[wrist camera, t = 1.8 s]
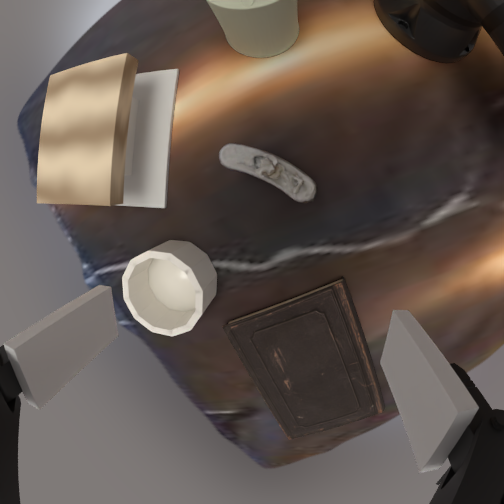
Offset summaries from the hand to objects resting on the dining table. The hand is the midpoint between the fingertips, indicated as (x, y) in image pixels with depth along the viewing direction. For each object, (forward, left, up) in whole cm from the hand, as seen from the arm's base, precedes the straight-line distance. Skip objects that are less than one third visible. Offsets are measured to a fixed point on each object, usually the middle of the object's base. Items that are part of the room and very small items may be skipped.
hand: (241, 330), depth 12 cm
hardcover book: (+18, +7, -23) cm, 30 cm away
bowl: (+7, -12, -22) cm, 26 cm away
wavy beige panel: (-11, -22, -15) cm, 29 cm away
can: (-26, -4, -23) cm, 35 cm away
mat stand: (-11, -22, -22) cm, 33 cm away
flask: (-7, -1, -23) cm, 24 cm away
